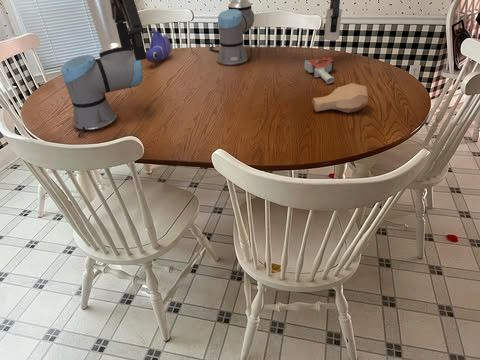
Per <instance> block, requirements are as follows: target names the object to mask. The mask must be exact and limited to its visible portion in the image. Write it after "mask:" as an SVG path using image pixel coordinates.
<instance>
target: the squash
mask: <svg viewBox="0 0 480 360" xmlns="http://www.w3.org/2000/svg"><path fill="white" fill-rule="evenodd" d="M368 102H369V92H368V88H367V86H365V85H363V84H357V83H354V82H353V83H352V82H350V83H348V84H345V85H342V86H337V87H336V88H335V89H334V90H333V91H332V92H331V93H330V94H328V95H324V96H320V97H319V96H318V97H313V98H312V105H313V108H314V111H315V112H321V111H326V110H337V111H339V112H343V113H355V112H359V111H360V110H362V109H363V108H365V107H366V106H367V104H368Z"/></svg>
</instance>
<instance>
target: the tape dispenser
mask: <svg viewBox="0 0 480 360" xmlns="http://www.w3.org/2000/svg"><path fill="white" fill-rule="evenodd" d="M320 61H323V62H320ZM334 65H335V59H333V57H332V56H328V57H321V58H315V59H309V60H308V59H305V60H304V70H305V71H307V73H310V74H312V73H314V78H322V79H323V81H325V84H327V85H329V84H332V83H333V82H334V81H335V77H334V76H332V75H331V74H329V73H330V72H331V73H332V72H333V70H334Z"/></svg>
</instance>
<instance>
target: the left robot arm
mask: <svg viewBox="0 0 480 360" xmlns="http://www.w3.org/2000/svg"><path fill="white" fill-rule="evenodd" d="M86 3H87V6H88V9H89V12H90V14H91V18H92V22H93V25H94V28H95V31H96V34H97V37H98V40H99V44H100V48H101V49H100V50H99V52H98V54H99V55H98V56H99V58H97V59H96V58H95V57H94V56H93V55H90V54H89V55H81V56H77V57H74V58H71V59H70V60H67V61H66V62H65V63H63V65H62V66H61V68H60V72H61V75H62V81H63V82H64V83H65V87H66V89H67V93H68V95H69V99H70V101H71V104H72V108H73V114H72V117H73V118H72V119H73V125H74V128H75V129H76V131H78V134H77V137H78V138H81V136H82V133H92V132H99V131H102V130H105V129H107V128H110V127H111V126H113V125H115V124H116V122H117V121H118V116H117V113H116V111H115V110H114V108H113V107H112V105H111V103H110V102H109V101H108V99H107V96H106V94H108V93H113V92H117V91H121V90H126V89H132V88H134V87H138V86H140V85H141V84H142V83H143V80H144V72H143V64H142V61H143V60H147V58H146V48H145V44H144V40H143V35H142V32H144V27H143V24H142V21H141V18H140V14H139V12H138V9H137V5H136V2H135V0H86Z"/></svg>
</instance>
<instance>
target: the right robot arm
mask: <svg viewBox="0 0 480 360" xmlns="http://www.w3.org/2000/svg"><path fill="white" fill-rule="evenodd" d="M340 5H341V0H330V2H329V9H333V12H332V16H331V29H330V32H336V29H337V20H338V17H339V9H340V7H341V6H340ZM254 22H255V12H254V11H253V10H252V3H251V2H250V1H249V0H230V2H229V4H228V9H226V10H222V11H221V12H220V13H219V14H218V16H217V25H218V36H219V50H217V49H213V48H214V46H215V45H214V44H213V43H212V42H211V41H209V40H206V41H205V44H209V45H211V46H210V47H209V50H210V52H214V53H218V56H217V63H218V64H219V65H222V66H229V67H230V66H231V67H232V66H233V67H234V66H239V65H240V66H241V65H243V64H245V63H247V62H248V54H247V51H246V49H245V45H244V34H245V33H246V32H248V31H249V30H251V29H252V27H253V26H254Z"/></svg>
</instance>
